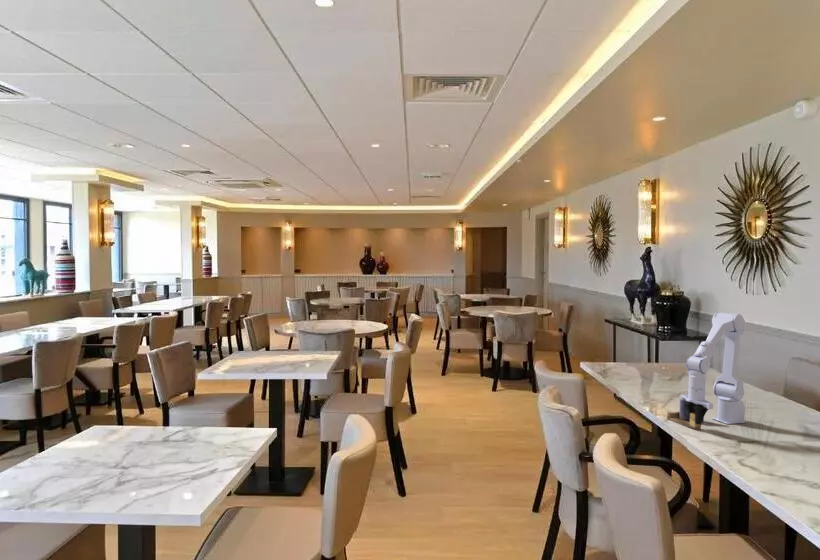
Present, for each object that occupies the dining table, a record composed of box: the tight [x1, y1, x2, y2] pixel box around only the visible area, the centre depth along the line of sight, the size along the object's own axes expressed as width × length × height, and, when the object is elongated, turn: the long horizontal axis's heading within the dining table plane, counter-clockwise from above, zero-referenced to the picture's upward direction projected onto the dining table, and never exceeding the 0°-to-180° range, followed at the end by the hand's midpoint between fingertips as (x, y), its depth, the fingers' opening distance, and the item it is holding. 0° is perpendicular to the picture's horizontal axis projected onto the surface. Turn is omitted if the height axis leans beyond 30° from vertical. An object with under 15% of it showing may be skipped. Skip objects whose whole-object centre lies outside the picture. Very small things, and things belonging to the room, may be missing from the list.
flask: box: [678, 397, 705, 423], centre depth 227 cm, size 9×3×11 cm, turn 80°
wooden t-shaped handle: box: [666, 411, 702, 430], centre depth 223 cm, size 12×15×6 cm
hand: (695, 422), depth 216 cm, fingers open, 3 cm apart
